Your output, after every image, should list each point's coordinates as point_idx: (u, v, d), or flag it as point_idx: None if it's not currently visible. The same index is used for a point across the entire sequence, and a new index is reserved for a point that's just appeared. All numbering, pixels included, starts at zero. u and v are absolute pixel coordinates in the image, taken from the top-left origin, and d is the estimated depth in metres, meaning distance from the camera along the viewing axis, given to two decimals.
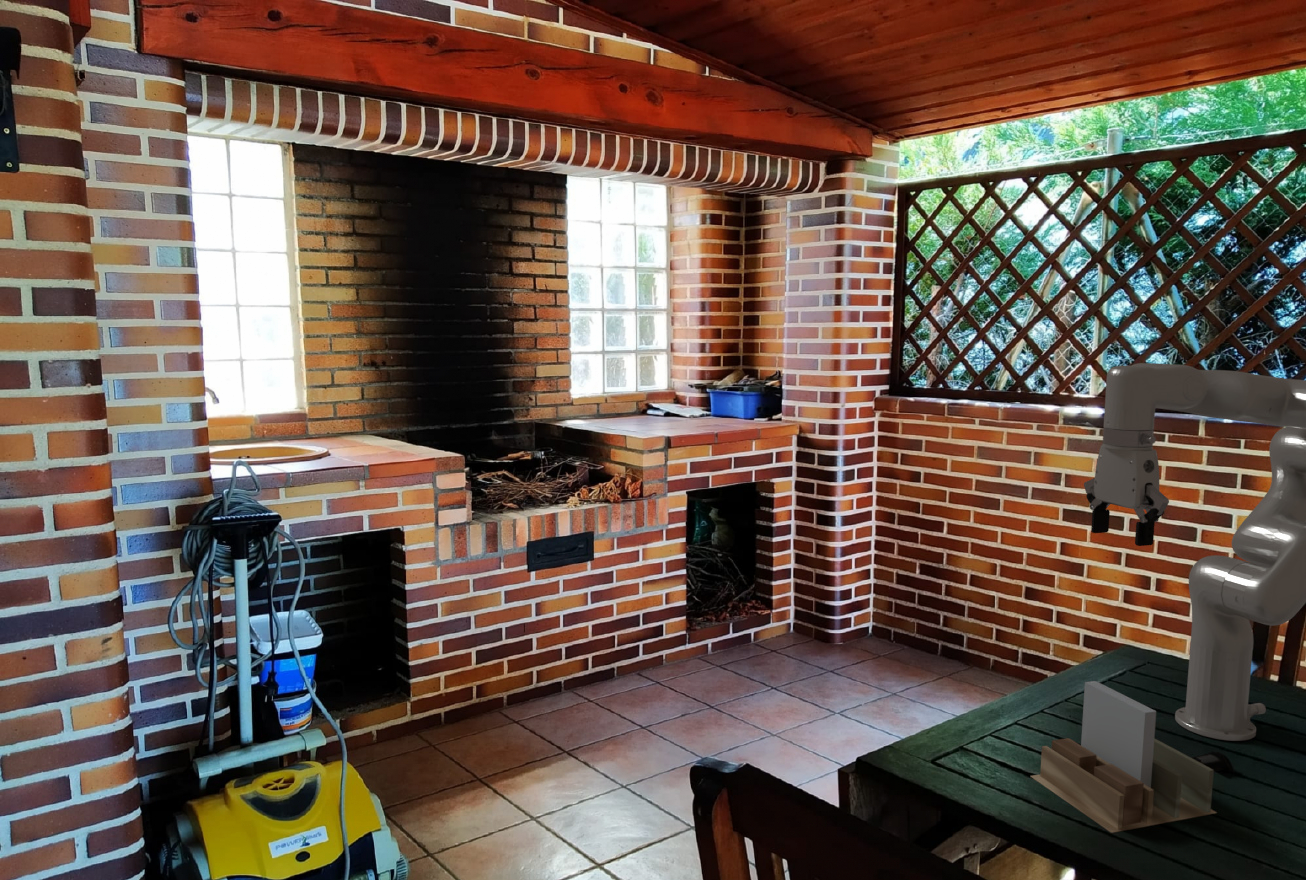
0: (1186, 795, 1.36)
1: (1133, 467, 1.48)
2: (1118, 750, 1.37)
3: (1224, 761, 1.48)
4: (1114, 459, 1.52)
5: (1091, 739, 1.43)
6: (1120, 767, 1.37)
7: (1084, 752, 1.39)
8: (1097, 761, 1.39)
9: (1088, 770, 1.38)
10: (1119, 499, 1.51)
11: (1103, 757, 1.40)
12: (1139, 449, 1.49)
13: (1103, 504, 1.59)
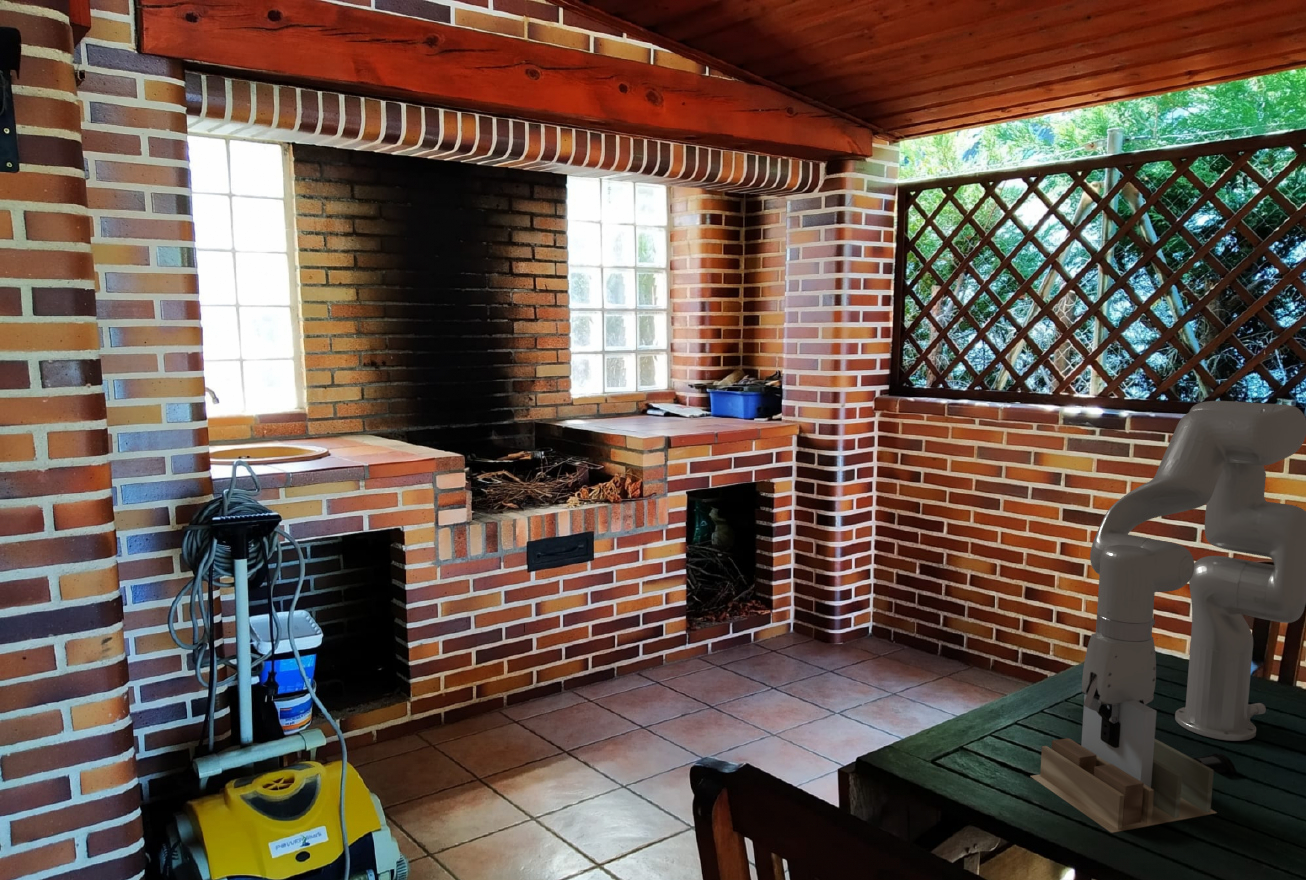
0: (1186, 795, 1.36)
1: (1153, 656, 1.36)
2: (1118, 750, 1.37)
3: (1226, 763, 1.47)
4: (1135, 654, 1.35)
5: (1091, 739, 1.43)
6: (1120, 766, 1.37)
7: (1084, 752, 1.39)
8: (1097, 761, 1.39)
9: (1088, 770, 1.38)
10: (1138, 694, 1.36)
11: (1104, 756, 1.40)
12: None
13: None
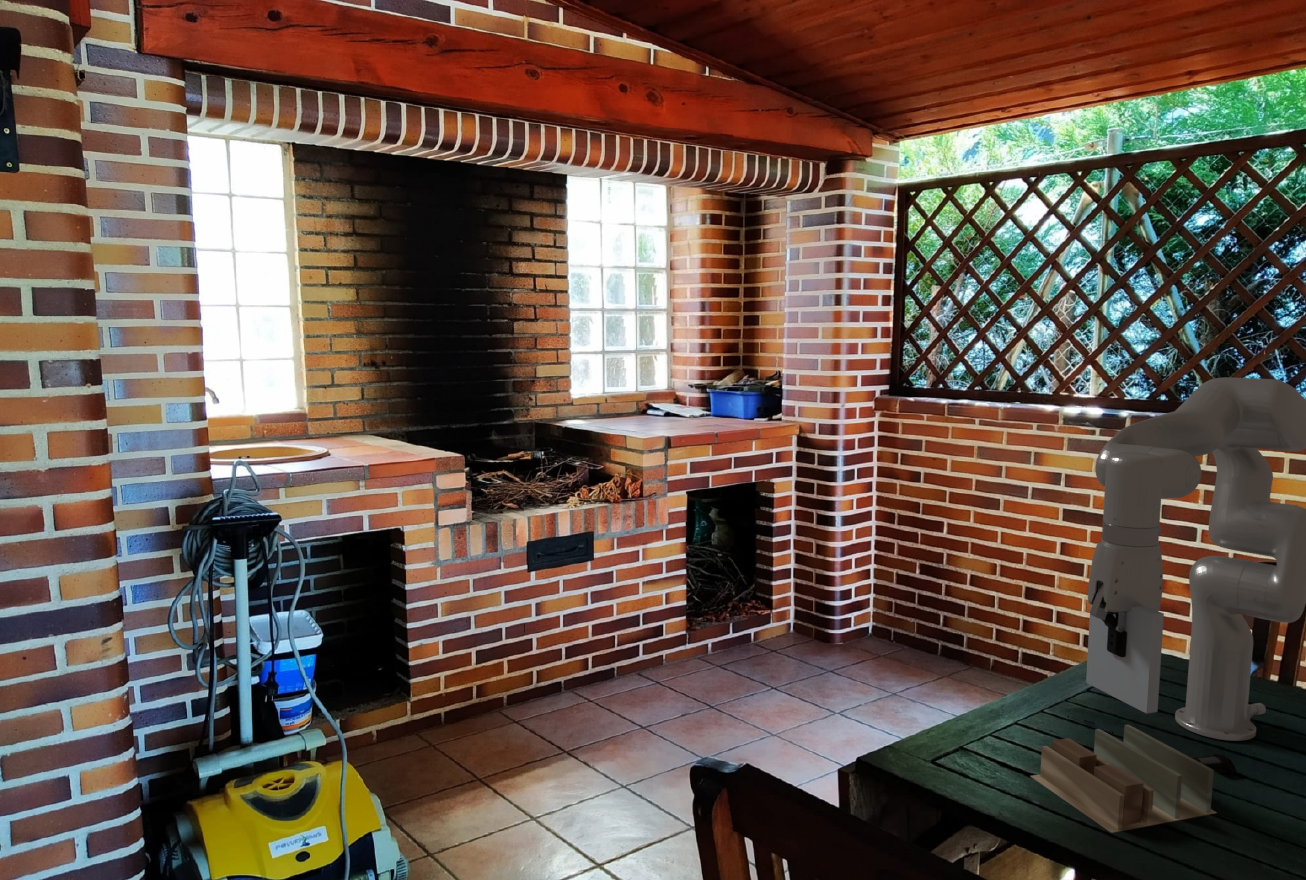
0: (1186, 795, 1.36)
1: (1160, 564, 1.35)
2: (1125, 656, 1.36)
3: (1226, 763, 1.47)
4: (1142, 560, 1.33)
5: (1097, 649, 1.41)
6: (1127, 673, 1.35)
7: (1084, 752, 1.39)
8: (1097, 761, 1.39)
9: (1088, 770, 1.38)
10: (1145, 602, 1.35)
11: (1110, 665, 1.39)
12: None
13: None
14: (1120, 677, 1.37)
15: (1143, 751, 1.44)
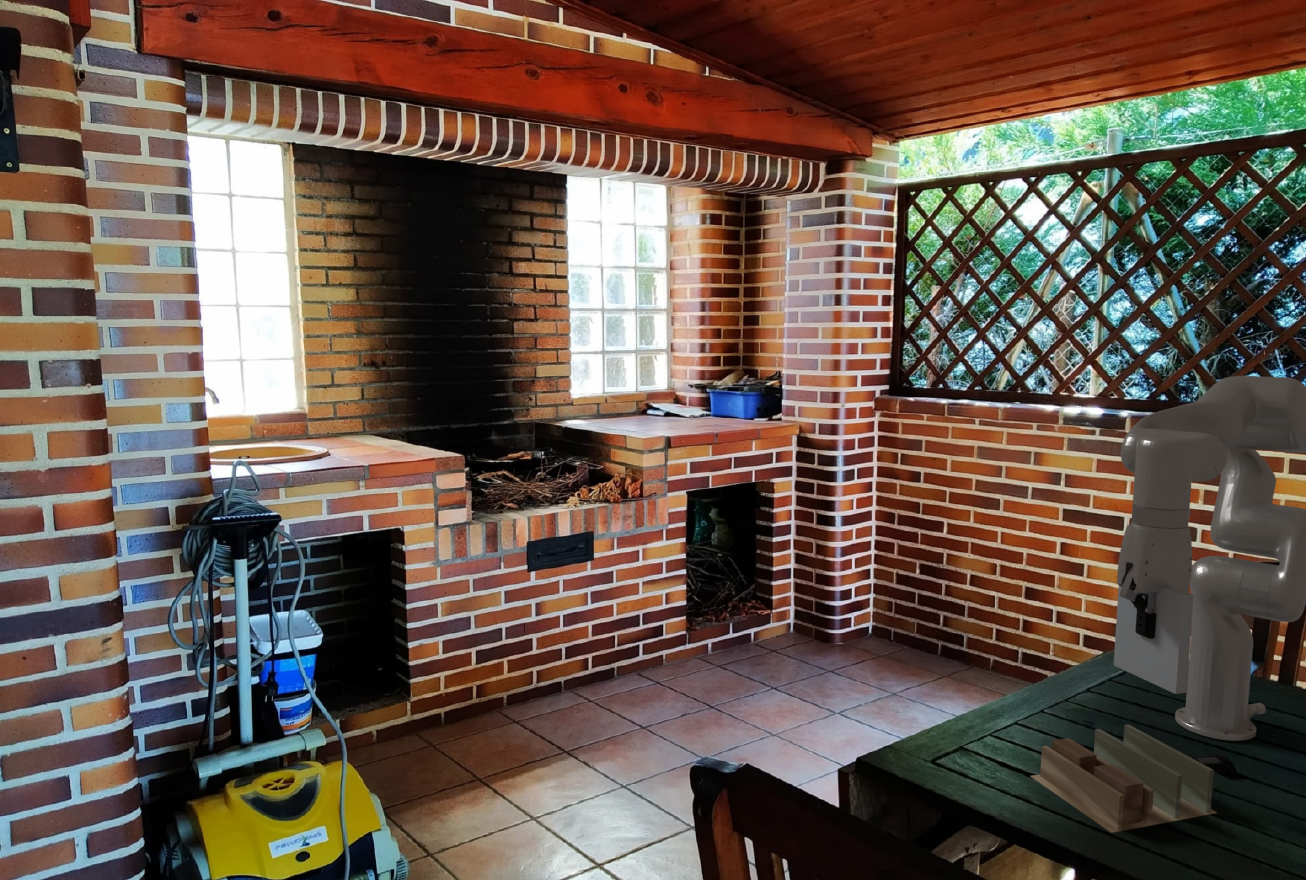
0: (1186, 795, 1.36)
1: (1189, 546, 1.36)
2: (1154, 638, 1.37)
3: (1226, 764, 1.47)
4: (1172, 542, 1.34)
5: (1125, 631, 1.42)
6: (1156, 654, 1.36)
7: (1084, 752, 1.39)
8: (1097, 761, 1.39)
9: (1088, 770, 1.38)
10: (1174, 584, 1.36)
11: (1139, 647, 1.40)
12: None
13: None
14: (1149, 659, 1.38)
15: (1143, 751, 1.44)
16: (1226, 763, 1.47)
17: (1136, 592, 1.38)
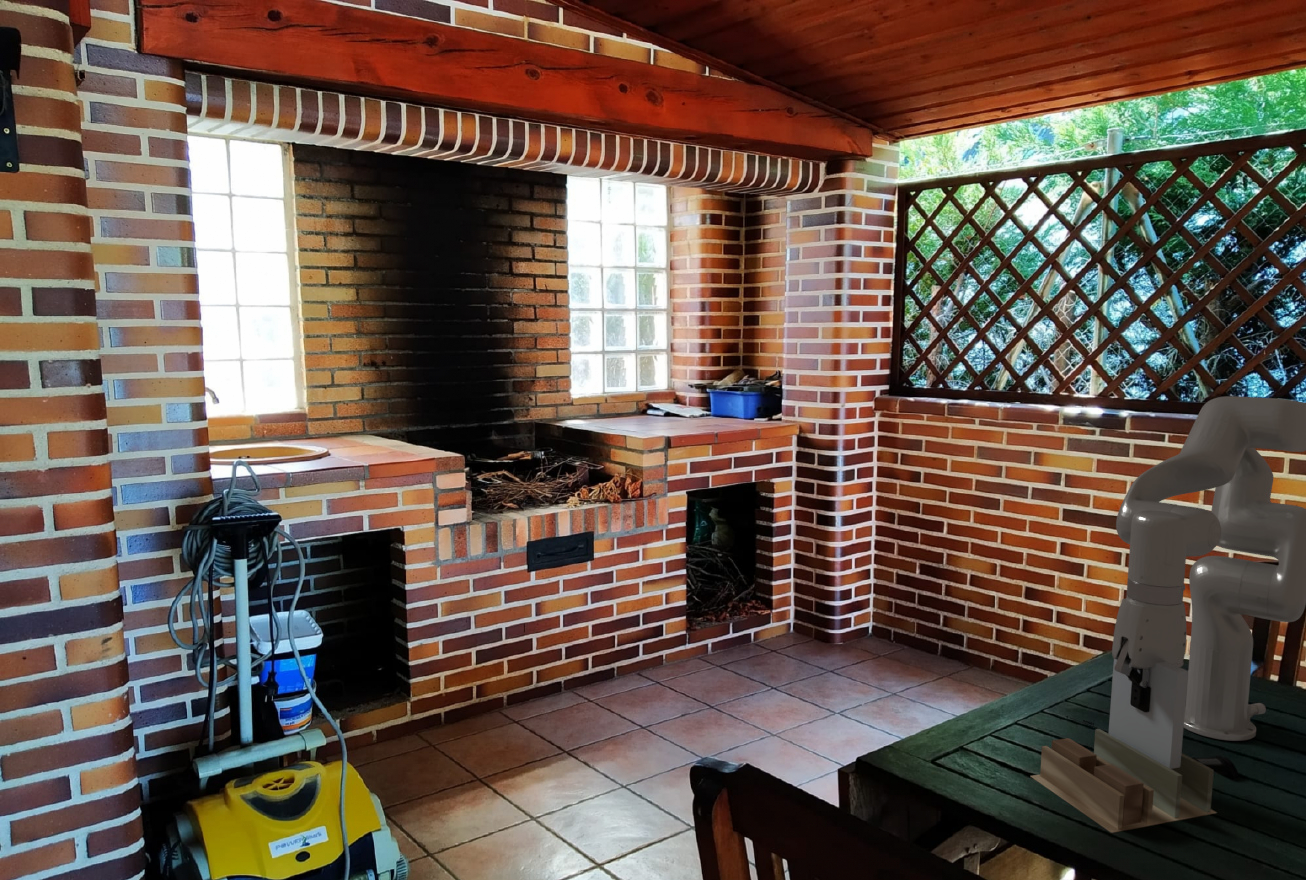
0: (1186, 795, 1.36)
1: (1184, 621, 1.37)
2: (1149, 711, 1.38)
3: (1227, 766, 1.46)
4: (1166, 618, 1.36)
5: (1120, 702, 1.43)
6: (1151, 728, 1.38)
7: (1084, 752, 1.39)
8: (1097, 761, 1.39)
9: (1088, 770, 1.38)
10: (1168, 659, 1.37)
11: (1134, 719, 1.41)
12: None
13: None
14: (1143, 731, 1.39)
15: None
16: (1227, 765, 1.47)
17: (1131, 665, 1.39)
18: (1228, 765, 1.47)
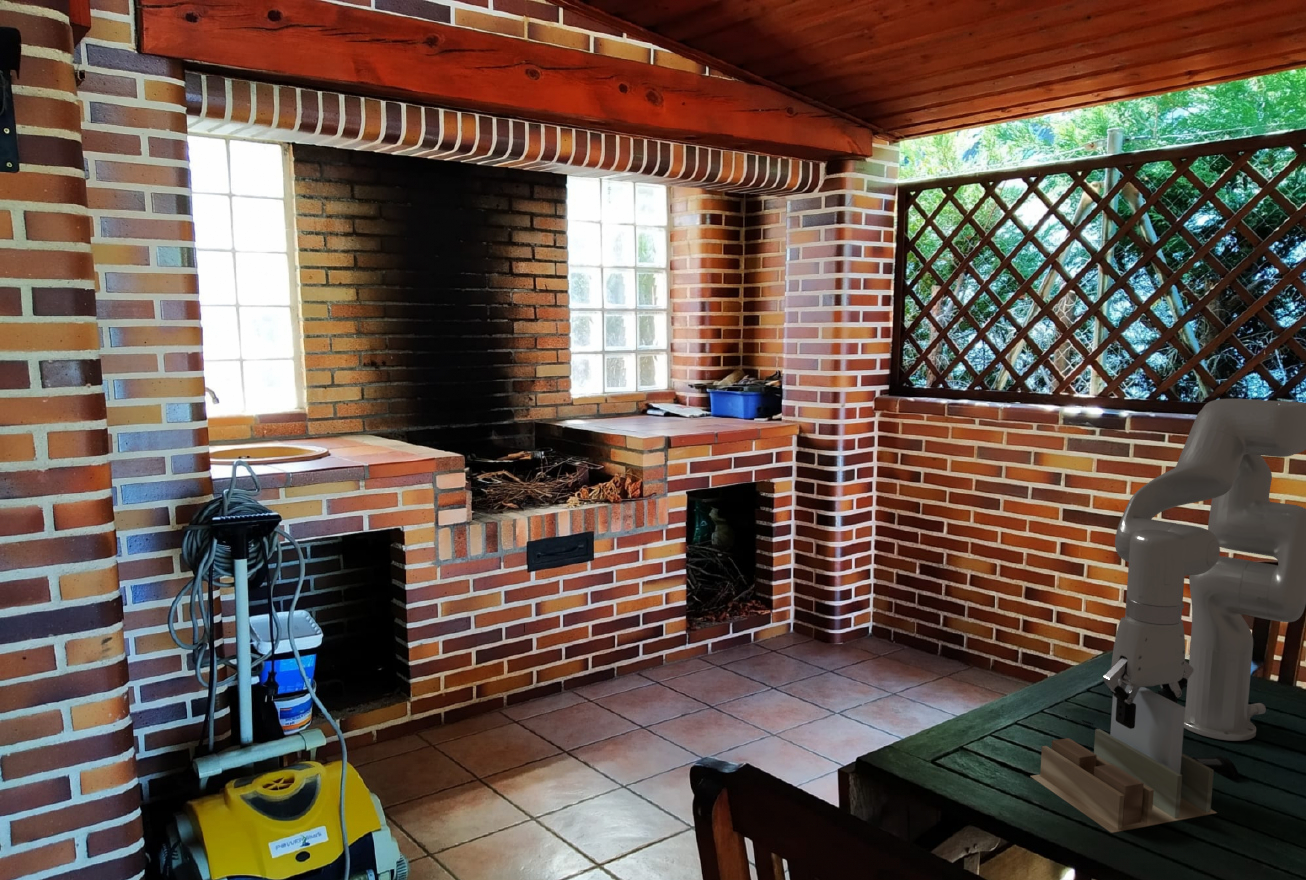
0: (1186, 795, 1.36)
1: (1182, 640, 1.38)
2: (1147, 746, 1.39)
3: (1227, 766, 1.46)
4: (1165, 637, 1.36)
5: (1120, 735, 1.44)
6: None
7: (1084, 752, 1.39)
8: (1097, 761, 1.39)
9: (1088, 770, 1.38)
10: (1167, 677, 1.38)
11: None
12: None
13: None
14: None
15: None
16: (1227, 765, 1.46)
17: (1122, 681, 1.39)
18: (1228, 765, 1.46)
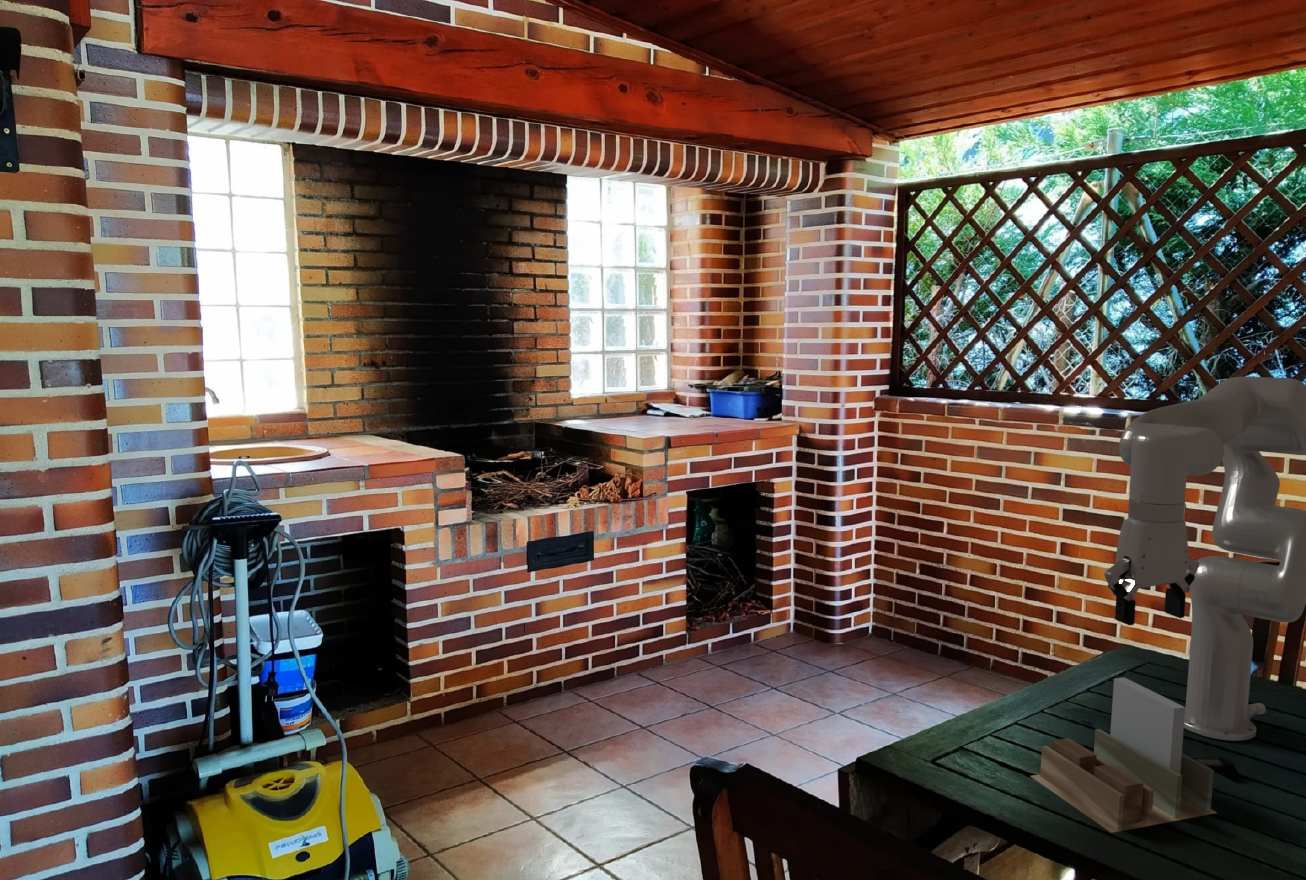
0: (1186, 795, 1.36)
1: (1185, 539, 1.38)
2: (1147, 746, 1.39)
3: (1227, 767, 1.46)
4: (1168, 536, 1.37)
5: (1120, 735, 1.44)
6: None
7: (1084, 752, 1.39)
8: (1097, 761, 1.39)
9: (1088, 770, 1.38)
10: (1171, 577, 1.38)
11: None
12: None
13: None
14: None
15: None
16: (1228, 766, 1.46)
17: (1123, 579, 1.39)
18: (1229, 766, 1.46)
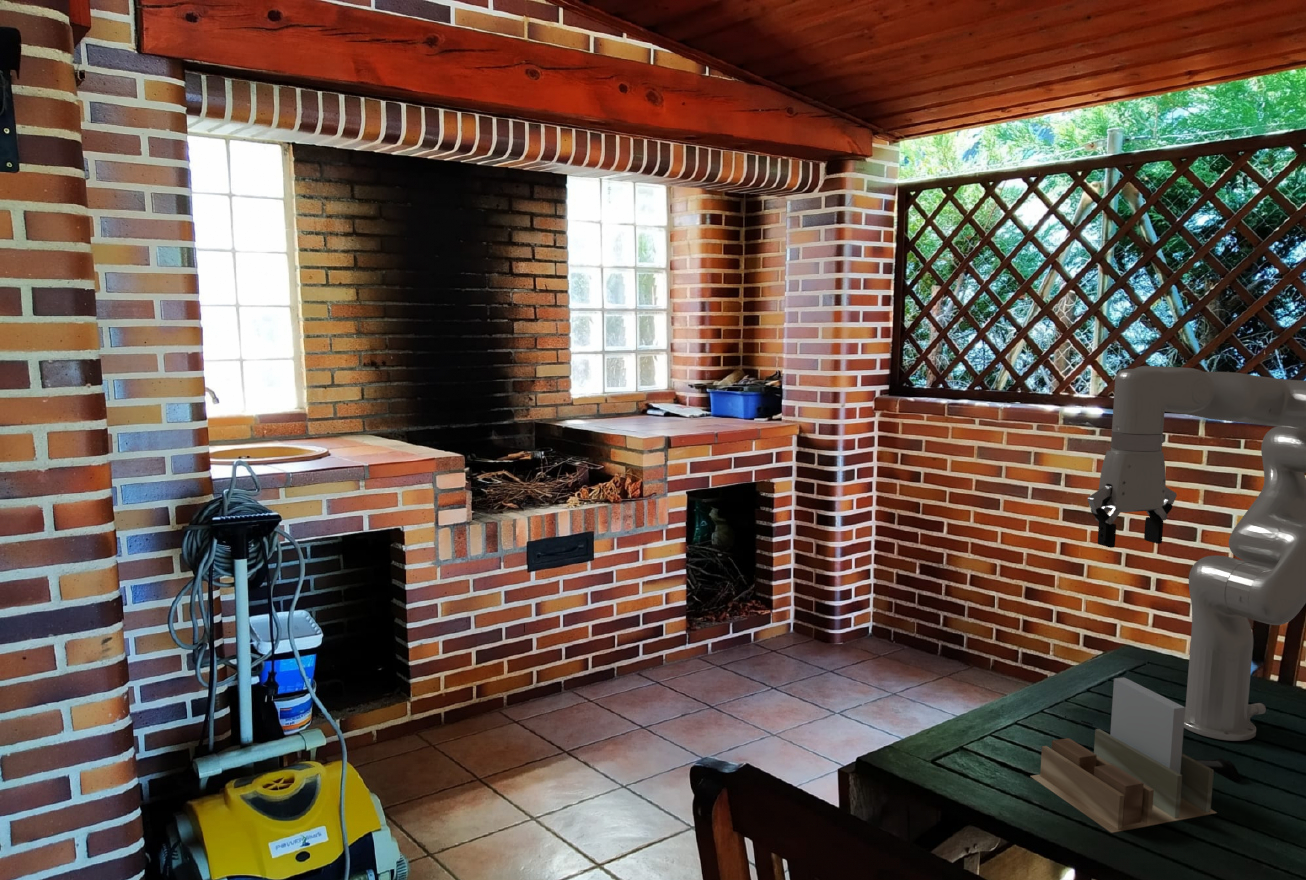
0: (1186, 795, 1.36)
1: (1163, 469, 1.50)
2: (1147, 746, 1.39)
3: (1228, 768, 1.46)
4: (1147, 465, 1.48)
5: (1120, 735, 1.44)
6: None
7: (1084, 752, 1.39)
8: (1097, 761, 1.39)
9: (1088, 770, 1.38)
10: (1149, 503, 1.50)
11: None
12: None
13: None
14: None
15: None
16: (1228, 767, 1.46)
17: (1105, 505, 1.51)
18: (1229, 768, 1.46)
